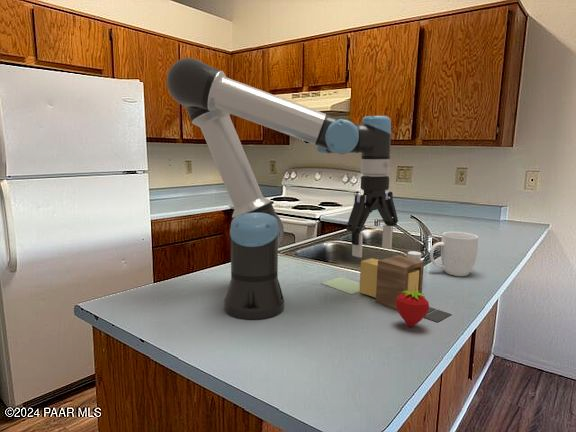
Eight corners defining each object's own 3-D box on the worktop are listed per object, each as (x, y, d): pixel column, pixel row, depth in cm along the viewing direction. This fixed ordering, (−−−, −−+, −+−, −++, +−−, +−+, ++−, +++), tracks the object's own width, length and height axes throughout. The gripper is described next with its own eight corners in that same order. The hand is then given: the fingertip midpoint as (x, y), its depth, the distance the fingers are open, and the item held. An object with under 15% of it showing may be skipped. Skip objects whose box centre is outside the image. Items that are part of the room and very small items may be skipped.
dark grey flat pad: (437, 322, 94) (437, 321, 94) (407, 312, 100) (407, 311, 100) (451, 314, 99) (451, 314, 99) (421, 305, 105) (421, 304, 105)
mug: (435, 278, 127) (438, 238, 125) (422, 268, 138) (425, 231, 136) (481, 278, 127) (485, 238, 125) (465, 268, 138) (468, 231, 136)
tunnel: (402, 312, 100) (404, 267, 98) (375, 302, 106) (377, 260, 104) (421, 303, 106) (424, 261, 104) (395, 295, 112) (397, 255, 110)
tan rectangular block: (406, 308, 101) (408, 274, 100) (359, 292, 112) (360, 261, 111) (417, 303, 105) (419, 270, 103) (370, 288, 116) (371, 258, 114)
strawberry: (397, 318, 96) (400, 278, 95) (430, 325, 93) (433, 284, 91) (390, 327, 91) (392, 285, 90) (424, 335, 88) (427, 291, 86)
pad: (352, 294, 112) (352, 293, 112) (320, 283, 121) (320, 282, 121) (371, 287, 118) (371, 286, 118) (340, 277, 127) (340, 277, 127)
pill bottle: (409, 279, 125) (411, 249, 124) (425, 284, 122) (427, 252, 120) (400, 283, 122) (402, 252, 120) (416, 288, 118) (418, 256, 116)
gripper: (356, 178, 97) (354, 263, 100) (412, 173, 113) (409, 247, 116) (333, 176, 102) (332, 257, 106) (389, 172, 118) (387, 242, 122)
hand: (372, 252), depth 111 cm, fingers open, 13 cm apart
